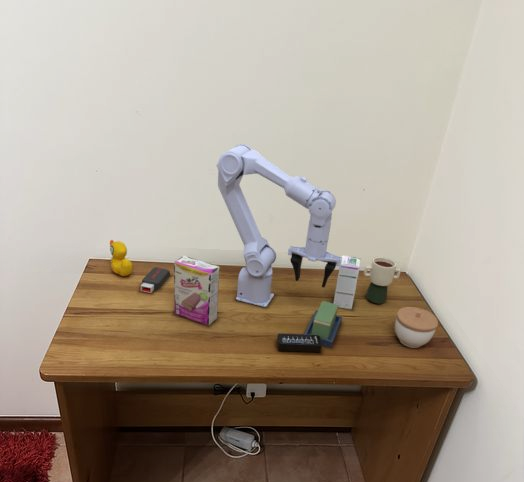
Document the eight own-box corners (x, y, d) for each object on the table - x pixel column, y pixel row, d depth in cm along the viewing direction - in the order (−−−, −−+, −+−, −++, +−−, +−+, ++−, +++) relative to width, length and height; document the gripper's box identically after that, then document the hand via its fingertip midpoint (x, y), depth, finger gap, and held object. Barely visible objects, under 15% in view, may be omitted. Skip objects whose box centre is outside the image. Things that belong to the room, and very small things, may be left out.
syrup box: (351, 310, 144) (361, 266, 137) (331, 306, 145) (340, 262, 137) (352, 300, 149) (361, 257, 142) (333, 297, 150) (341, 254, 142)
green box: (319, 318, 138) (322, 300, 135) (334, 322, 137) (338, 304, 134) (310, 337, 130) (313, 318, 127) (327, 341, 129) (330, 323, 126)
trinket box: (424, 358, 127) (434, 328, 122) (385, 342, 131) (392, 313, 126) (435, 339, 135) (444, 310, 130) (397, 325, 139) (405, 297, 134)
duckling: (104, 267, 154) (102, 238, 148) (121, 263, 157) (118, 234, 151) (121, 282, 146) (118, 252, 141) (137, 278, 149) (135, 248, 144)
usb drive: (170, 275, 152) (169, 268, 151) (154, 294, 142) (154, 286, 141) (154, 272, 153) (154, 265, 152) (137, 291, 143) (137, 282, 142)
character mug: (390, 295, 154) (399, 258, 147) (395, 307, 148) (405, 269, 141) (356, 292, 153) (364, 255, 147) (359, 304, 147) (368, 266, 141)
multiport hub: (276, 340, 128) (277, 333, 126) (318, 342, 128) (319, 335, 127) (278, 350, 124) (279, 343, 123) (320, 352, 125) (322, 345, 123)
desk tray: (303, 340, 129) (304, 334, 128) (315, 315, 140) (315, 310, 139) (331, 347, 127) (332, 342, 126) (341, 322, 138) (342, 316, 137)
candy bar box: (173, 315, 134) (172, 261, 125) (183, 306, 138) (183, 254, 129) (208, 327, 130) (210, 273, 122) (218, 318, 134) (220, 265, 126)
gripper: (287, 237, 128) (281, 282, 135) (341, 249, 125) (332, 295, 132) (294, 228, 134) (288, 272, 141) (346, 239, 131) (338, 283, 138)
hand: (310, 282), depth 137 cm, fingers open, 7 cm apart
